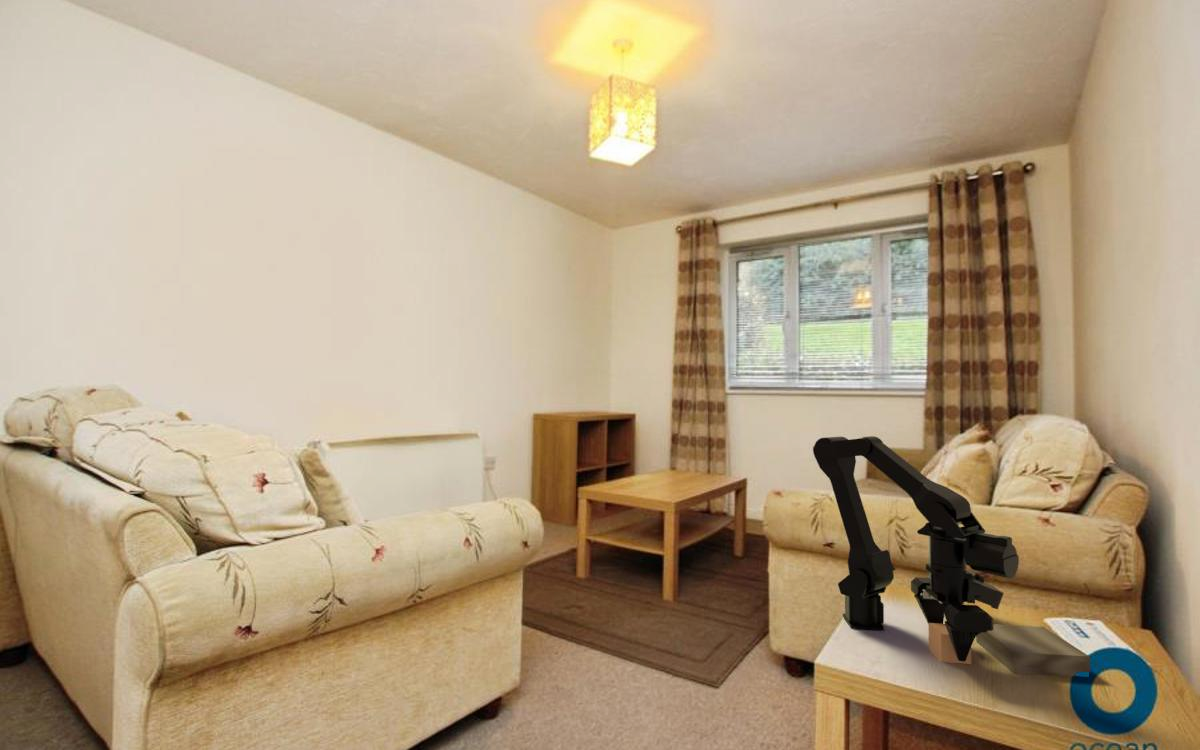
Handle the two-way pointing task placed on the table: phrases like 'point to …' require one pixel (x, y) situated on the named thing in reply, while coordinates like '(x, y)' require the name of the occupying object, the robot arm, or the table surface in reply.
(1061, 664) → the dark box
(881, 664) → the table surface
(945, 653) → the terracotta cube
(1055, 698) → the table surface
